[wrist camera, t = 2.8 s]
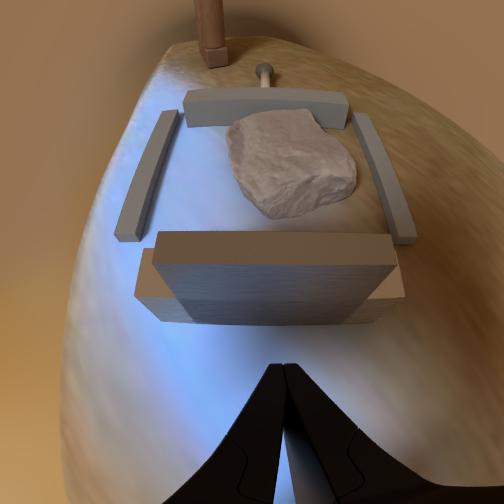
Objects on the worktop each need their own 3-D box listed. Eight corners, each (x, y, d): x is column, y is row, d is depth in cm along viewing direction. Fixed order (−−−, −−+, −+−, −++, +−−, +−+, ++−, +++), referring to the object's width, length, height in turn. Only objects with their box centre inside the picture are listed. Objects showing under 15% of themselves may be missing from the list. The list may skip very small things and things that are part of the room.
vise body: (412, 244, 21) (430, 221, 18) (119, 241, 22) (102, 217, 19) (345, 84, 35) (349, 65, 32) (182, 82, 36) (178, 63, 33)
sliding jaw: (373, 322, 18) (442, 264, 10) (161, 321, 19) (100, 261, 11) (368, 283, 20) (424, 210, 12) (166, 282, 20) (117, 206, 12)
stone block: (263, 241, 24) (362, 197, 24) (250, 209, 20) (368, 160, 20) (223, 158, 30) (303, 127, 30) (209, 126, 26) (298, 93, 26)
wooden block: (217, 49, 44) (211, -29, 28) (229, 66, 39) (223, -30, 23) (199, 52, 43) (190, -26, 28) (207, 69, 38) (198, -27, 23)
